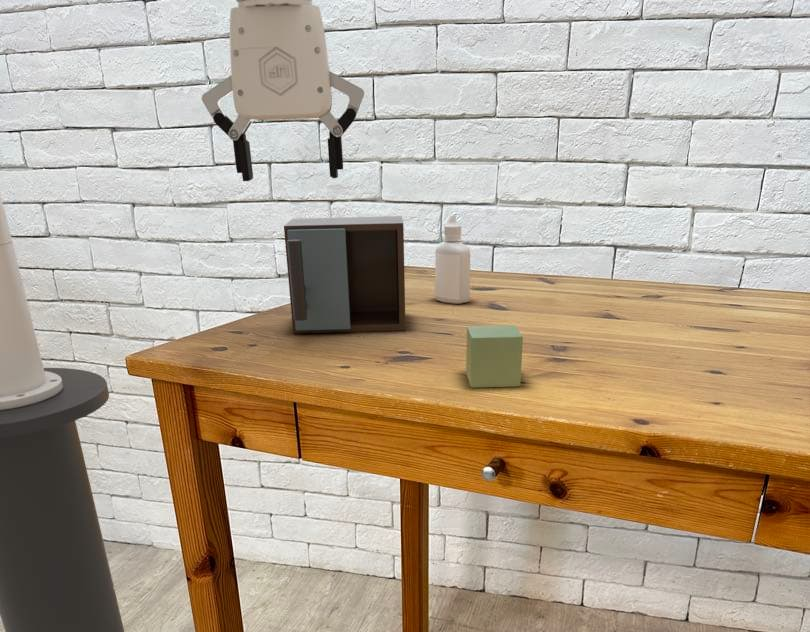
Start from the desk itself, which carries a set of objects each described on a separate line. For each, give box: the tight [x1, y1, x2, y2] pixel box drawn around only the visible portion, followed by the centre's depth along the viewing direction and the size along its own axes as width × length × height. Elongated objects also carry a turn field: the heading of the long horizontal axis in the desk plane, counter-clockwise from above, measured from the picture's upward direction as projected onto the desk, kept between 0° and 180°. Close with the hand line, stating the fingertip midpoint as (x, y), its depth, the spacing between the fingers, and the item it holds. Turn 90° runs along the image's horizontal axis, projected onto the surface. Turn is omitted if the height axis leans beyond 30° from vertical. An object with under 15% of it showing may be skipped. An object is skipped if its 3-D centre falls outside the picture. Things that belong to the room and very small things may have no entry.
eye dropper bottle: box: [434, 214, 471, 305], centre depth 113 cm, size 4×6×12 cm
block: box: [465, 324, 524, 389], centre depth 78 cm, size 5×5×5 cm
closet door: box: [287, 228, 351, 331], centre depth 93 cm, size 6×7×12 cm
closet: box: [283, 215, 407, 334], centre depth 100 cm, size 9×15×13 cm, turn 91°
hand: (291, 178), depth 86 cm, fingers open, 9 cm apart
